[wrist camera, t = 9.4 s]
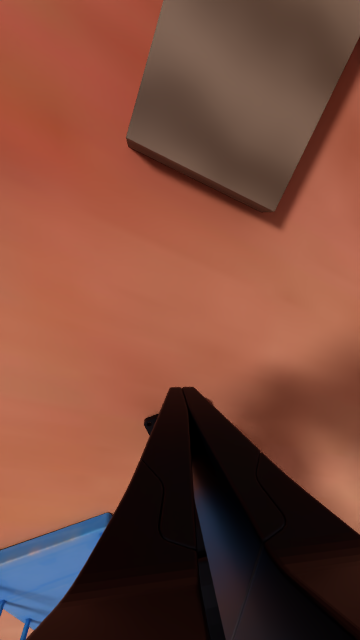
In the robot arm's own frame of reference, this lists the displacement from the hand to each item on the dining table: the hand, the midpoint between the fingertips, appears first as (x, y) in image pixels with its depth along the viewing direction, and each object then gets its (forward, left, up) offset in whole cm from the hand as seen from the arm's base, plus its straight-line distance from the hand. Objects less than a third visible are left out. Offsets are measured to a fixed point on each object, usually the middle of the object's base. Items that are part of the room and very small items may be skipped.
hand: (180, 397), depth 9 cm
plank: (+13, -10, -12) cm, 20 cm away
